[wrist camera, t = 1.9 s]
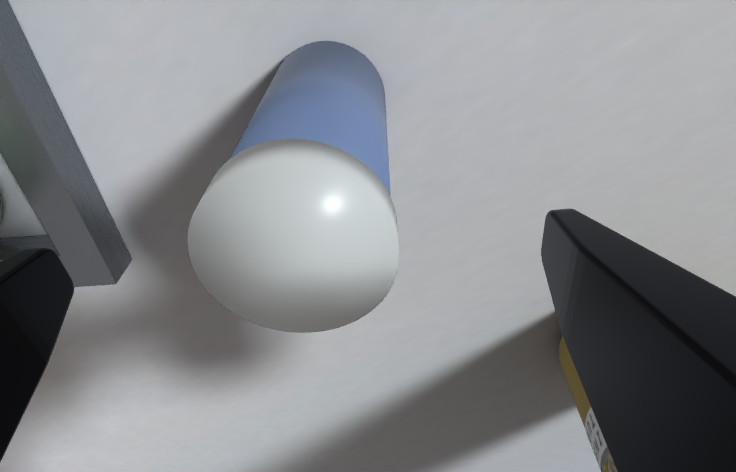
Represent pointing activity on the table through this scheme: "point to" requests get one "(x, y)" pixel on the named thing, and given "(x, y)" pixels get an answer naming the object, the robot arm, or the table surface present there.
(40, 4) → the table surface
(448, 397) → the table surface
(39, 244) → the button bezel
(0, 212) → the button
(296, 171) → the blue cylinder
